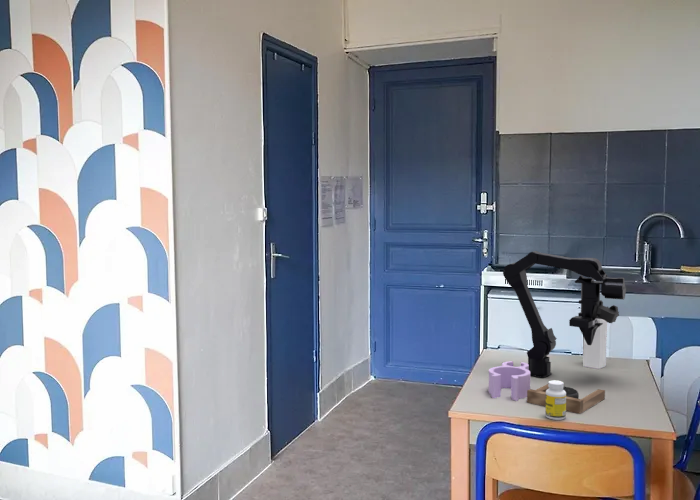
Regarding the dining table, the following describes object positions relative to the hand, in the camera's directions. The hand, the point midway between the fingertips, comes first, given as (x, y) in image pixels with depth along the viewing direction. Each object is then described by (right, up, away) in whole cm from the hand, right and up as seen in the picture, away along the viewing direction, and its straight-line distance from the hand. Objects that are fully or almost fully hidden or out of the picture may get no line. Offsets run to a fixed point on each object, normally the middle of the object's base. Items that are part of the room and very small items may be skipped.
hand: (589, 345), depth 218 cm
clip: (-27, -13, -8) cm, 32 cm away
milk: (+9, -11, +20) cm, 24 cm away
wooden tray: (-13, -14, -18) cm, 26 cm away
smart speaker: (-15, -14, -21) cm, 29 cm away
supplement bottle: (-21, -15, -33) cm, 42 cm away
